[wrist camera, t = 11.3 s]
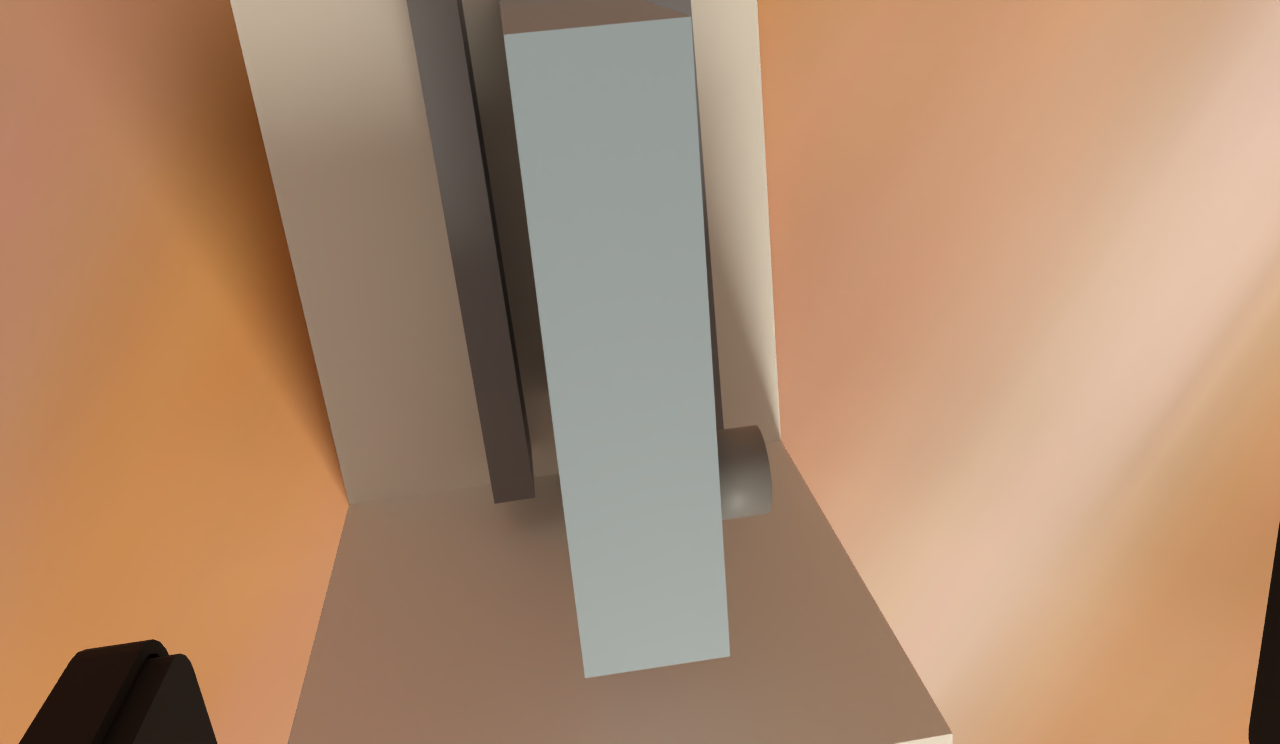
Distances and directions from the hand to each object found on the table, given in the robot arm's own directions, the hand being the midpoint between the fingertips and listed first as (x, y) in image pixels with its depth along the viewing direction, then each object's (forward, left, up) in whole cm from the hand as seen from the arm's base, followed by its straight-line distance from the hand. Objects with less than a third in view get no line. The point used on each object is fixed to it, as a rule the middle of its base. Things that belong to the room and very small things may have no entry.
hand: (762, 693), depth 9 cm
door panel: (0, 0, -19) cm, 19 cm away
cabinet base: (+1, 0, -20) cm, 20 cm away
